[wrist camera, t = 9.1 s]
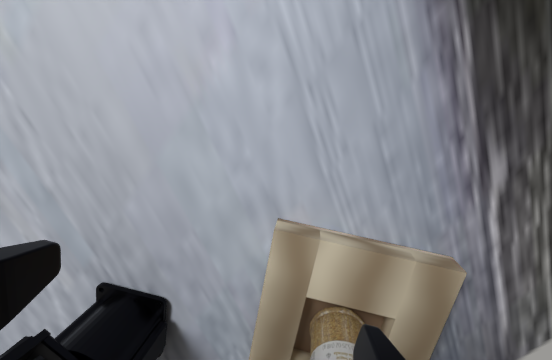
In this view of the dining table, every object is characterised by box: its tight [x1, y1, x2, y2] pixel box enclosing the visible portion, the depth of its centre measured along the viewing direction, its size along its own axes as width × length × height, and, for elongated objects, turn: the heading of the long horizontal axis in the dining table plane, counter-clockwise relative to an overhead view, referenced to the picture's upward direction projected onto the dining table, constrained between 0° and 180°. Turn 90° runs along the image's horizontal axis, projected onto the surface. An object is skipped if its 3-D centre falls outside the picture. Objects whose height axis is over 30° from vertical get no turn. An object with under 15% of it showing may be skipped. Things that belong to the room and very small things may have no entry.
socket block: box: [249, 218, 467, 360], centre depth 21 cm, size 13×16×2 cm
